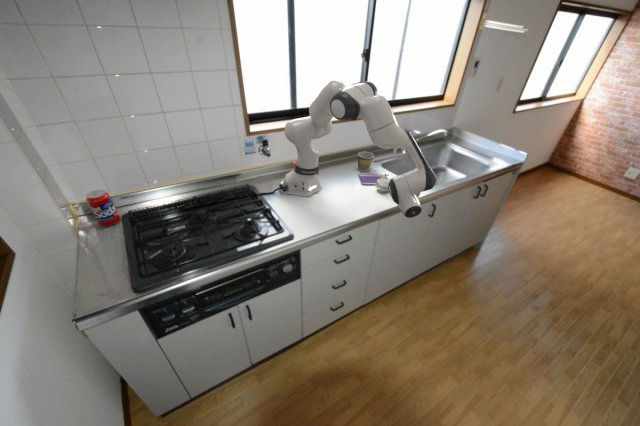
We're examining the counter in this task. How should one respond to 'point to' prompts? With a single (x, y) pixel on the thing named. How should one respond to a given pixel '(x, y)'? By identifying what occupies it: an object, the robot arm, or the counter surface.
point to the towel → (369, 179)
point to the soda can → (102, 207)
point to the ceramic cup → (364, 161)
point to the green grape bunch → (382, 178)
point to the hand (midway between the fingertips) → (393, 177)
